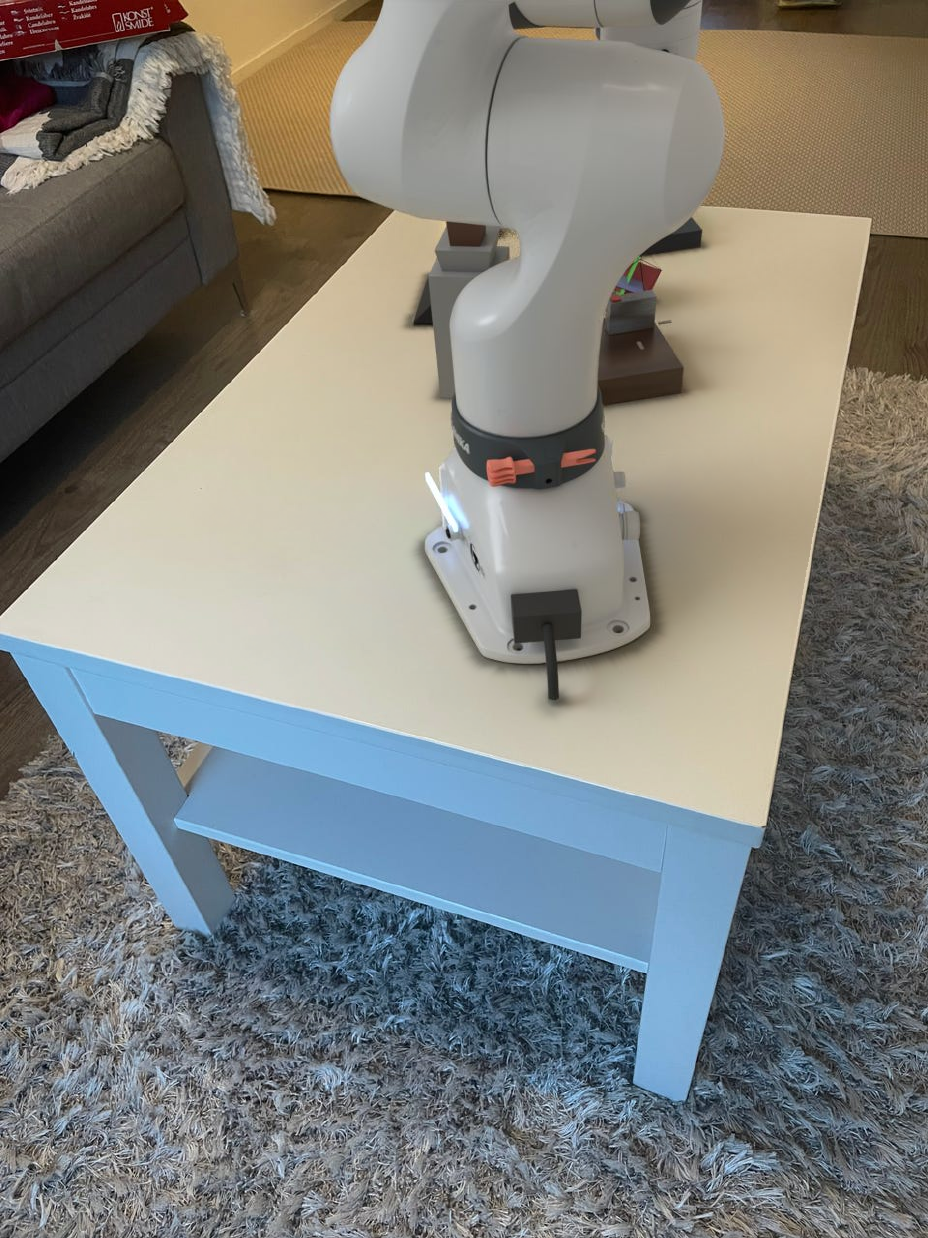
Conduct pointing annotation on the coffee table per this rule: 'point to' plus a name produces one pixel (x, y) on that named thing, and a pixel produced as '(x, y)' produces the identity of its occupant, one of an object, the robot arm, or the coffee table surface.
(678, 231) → the block
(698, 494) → the coffee table surface
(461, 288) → the perfume bottle
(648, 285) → the geometric puzzle
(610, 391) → the dark brown block
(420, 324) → the black triangular piece
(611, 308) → the grey block
